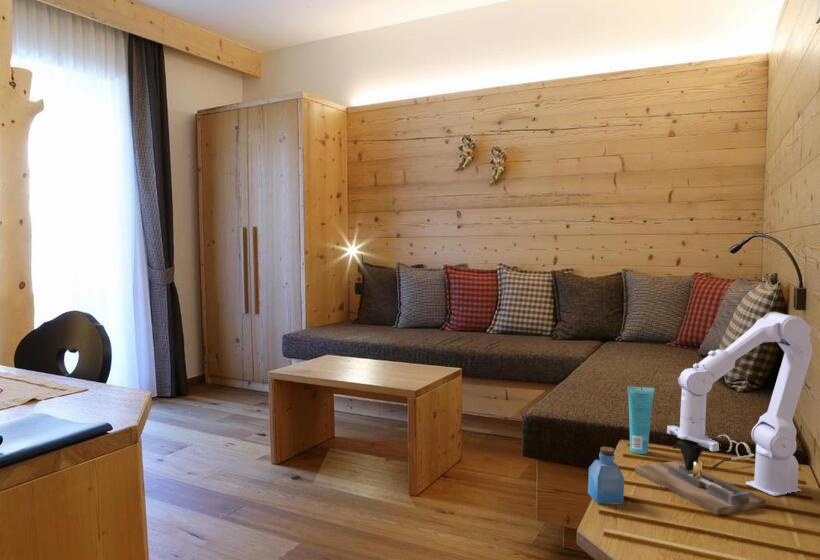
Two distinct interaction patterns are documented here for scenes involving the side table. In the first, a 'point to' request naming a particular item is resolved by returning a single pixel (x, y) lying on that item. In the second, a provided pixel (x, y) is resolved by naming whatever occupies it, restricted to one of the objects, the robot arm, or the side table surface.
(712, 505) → the door board
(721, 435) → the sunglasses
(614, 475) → the perfume bottle
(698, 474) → the bolt
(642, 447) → the tube
